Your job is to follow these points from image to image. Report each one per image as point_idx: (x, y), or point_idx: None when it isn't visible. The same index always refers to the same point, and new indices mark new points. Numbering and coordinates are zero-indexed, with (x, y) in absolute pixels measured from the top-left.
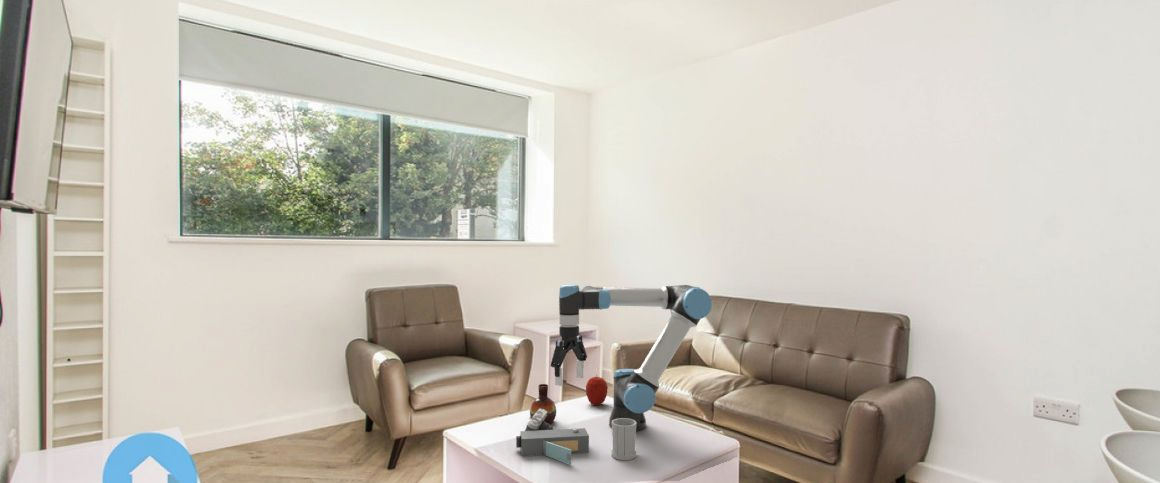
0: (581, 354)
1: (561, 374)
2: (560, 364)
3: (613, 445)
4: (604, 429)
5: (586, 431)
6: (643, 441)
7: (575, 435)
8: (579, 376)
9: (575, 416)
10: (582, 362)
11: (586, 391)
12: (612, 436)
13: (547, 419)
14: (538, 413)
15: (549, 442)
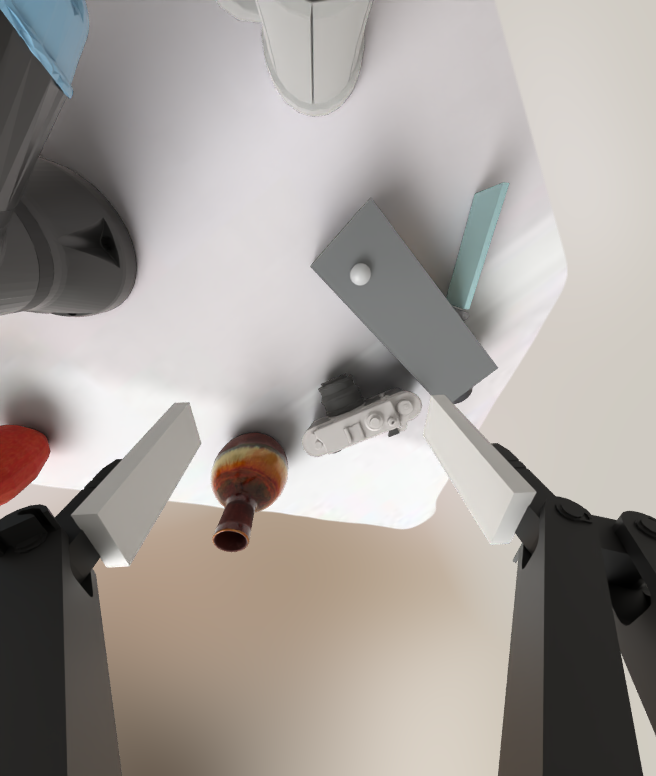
0: (8, 636)
1: (482, 444)
2: (576, 537)
3: (353, 60)
4: (165, 291)
5: (337, 237)
6: (130, 67)
7: (395, 247)
8: (191, 427)
9: None
10: (97, 501)
11: (28, 483)
12: (346, 54)
13: (267, 439)
14: (363, 432)
15: (468, 296)
